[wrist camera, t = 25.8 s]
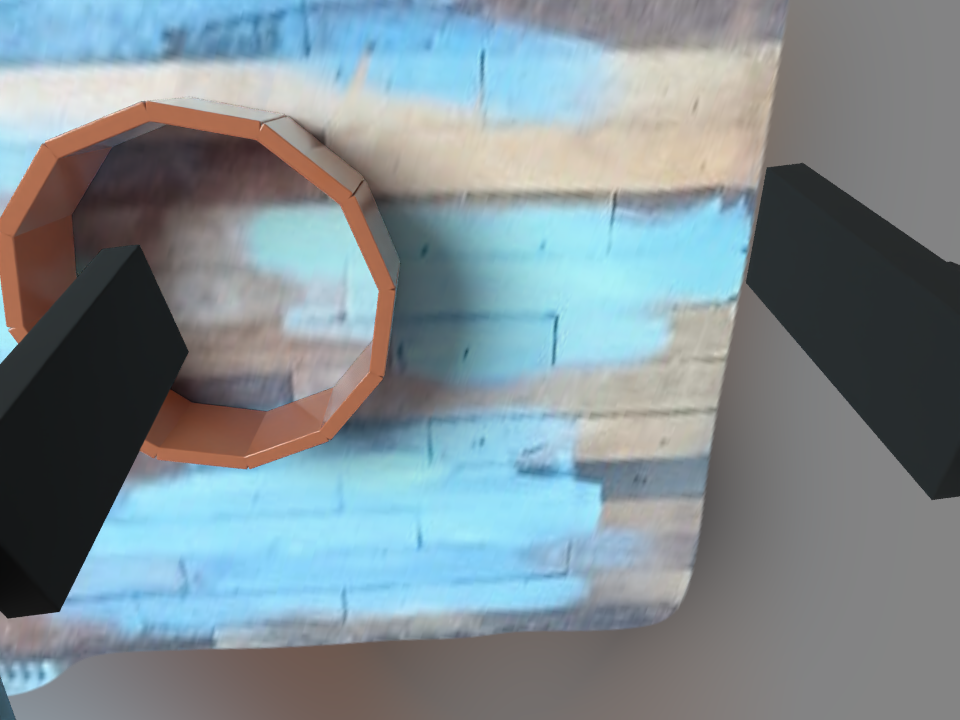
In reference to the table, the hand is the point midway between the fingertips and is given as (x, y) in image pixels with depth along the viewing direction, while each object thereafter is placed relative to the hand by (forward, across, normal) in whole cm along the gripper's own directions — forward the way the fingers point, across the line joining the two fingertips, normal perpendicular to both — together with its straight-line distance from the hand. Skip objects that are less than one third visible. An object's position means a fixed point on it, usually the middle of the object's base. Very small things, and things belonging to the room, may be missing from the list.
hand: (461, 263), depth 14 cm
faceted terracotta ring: (+19, -12, -9) cm, 24 cm away
